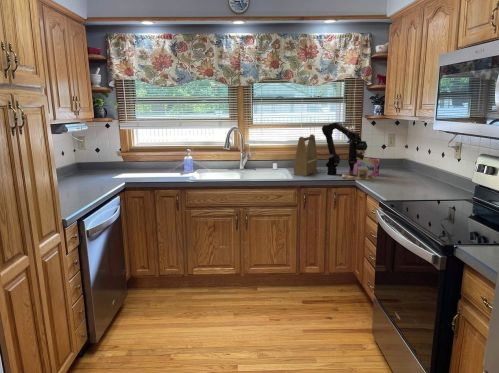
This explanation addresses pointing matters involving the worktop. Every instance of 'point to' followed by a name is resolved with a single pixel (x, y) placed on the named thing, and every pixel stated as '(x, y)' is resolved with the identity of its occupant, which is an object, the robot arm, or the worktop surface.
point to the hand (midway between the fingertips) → (351, 169)
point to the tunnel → (362, 169)
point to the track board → (356, 177)
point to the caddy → (305, 157)
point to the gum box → (368, 165)
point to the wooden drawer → (354, 174)
